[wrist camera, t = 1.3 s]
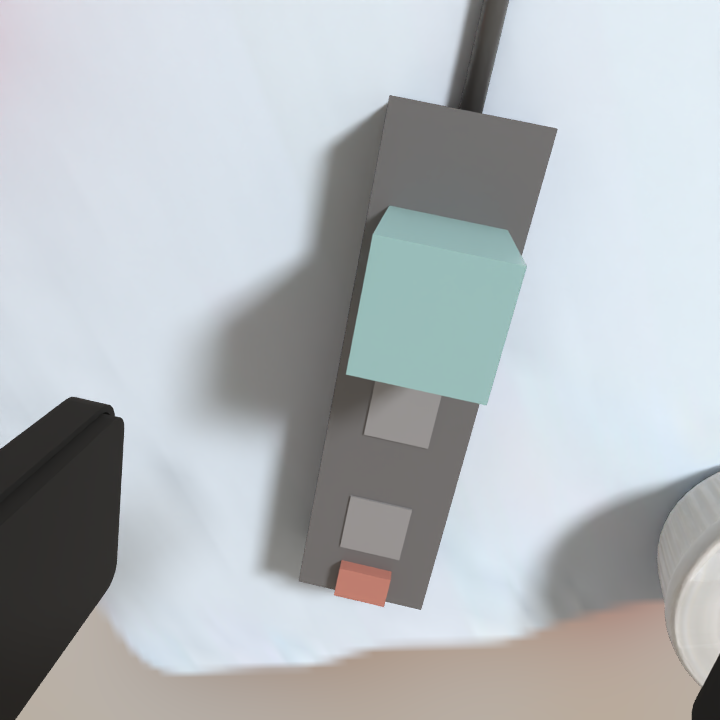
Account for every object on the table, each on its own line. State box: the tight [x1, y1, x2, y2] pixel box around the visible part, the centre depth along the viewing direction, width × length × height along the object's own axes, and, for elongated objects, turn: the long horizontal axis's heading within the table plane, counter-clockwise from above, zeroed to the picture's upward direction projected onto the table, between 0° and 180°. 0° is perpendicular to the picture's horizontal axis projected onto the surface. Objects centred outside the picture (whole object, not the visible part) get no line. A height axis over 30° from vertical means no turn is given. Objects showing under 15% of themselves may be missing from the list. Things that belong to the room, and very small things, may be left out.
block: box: [346, 206, 527, 405], centre depth 23 cm, size 4×4×8 cm
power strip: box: [299, 0, 557, 610], centre depth 26 cm, size 30×6×4 cm, turn 169°
